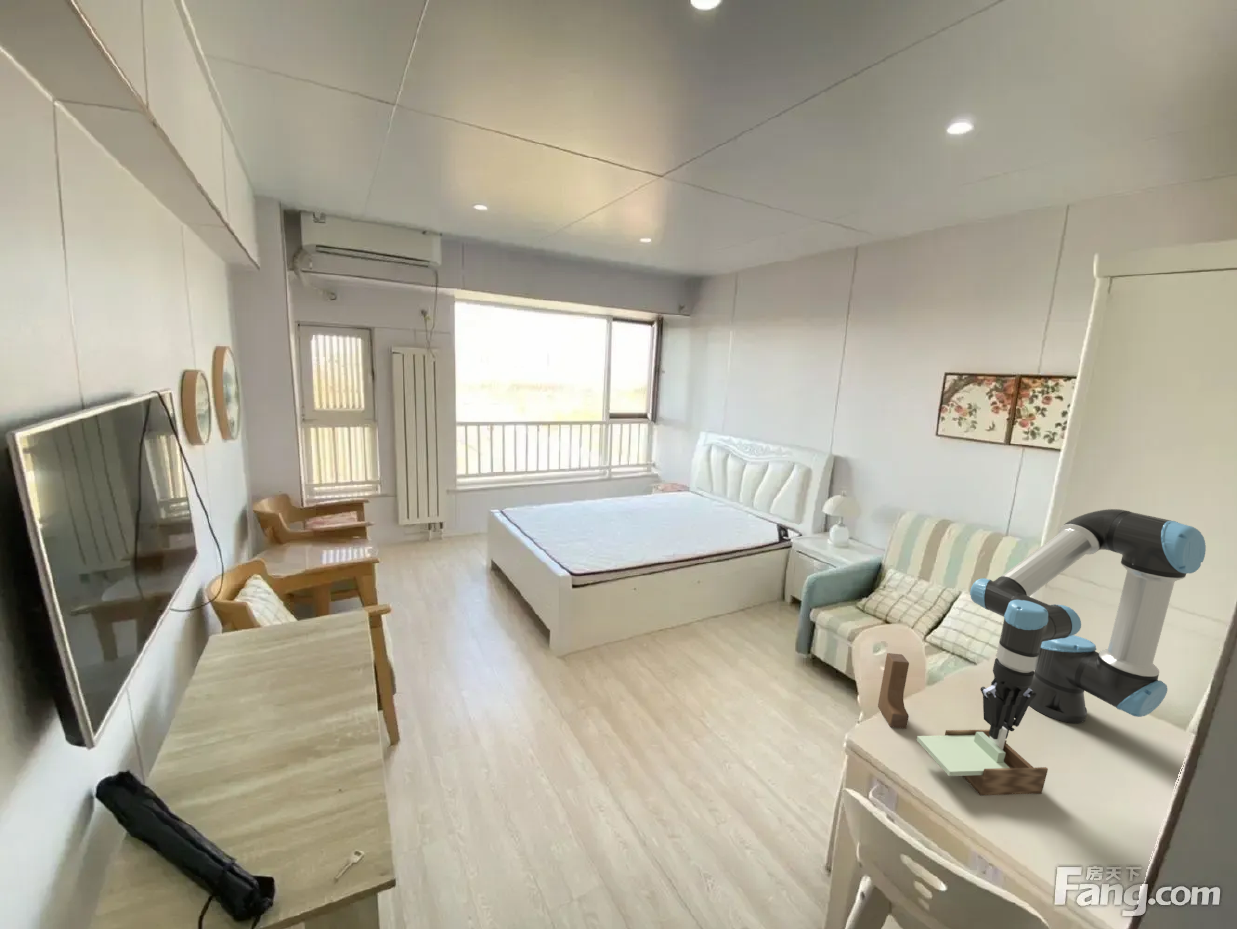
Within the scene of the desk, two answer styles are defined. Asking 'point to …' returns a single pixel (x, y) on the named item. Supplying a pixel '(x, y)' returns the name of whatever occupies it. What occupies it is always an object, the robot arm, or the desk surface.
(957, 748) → the lid
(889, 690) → the wooden block
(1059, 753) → the desk surface
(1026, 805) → the desk surface
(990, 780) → the box
